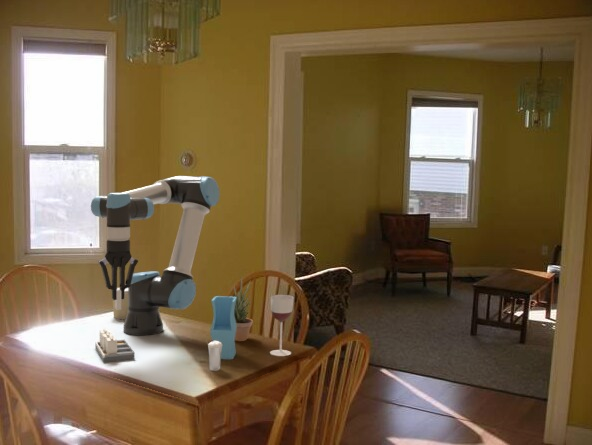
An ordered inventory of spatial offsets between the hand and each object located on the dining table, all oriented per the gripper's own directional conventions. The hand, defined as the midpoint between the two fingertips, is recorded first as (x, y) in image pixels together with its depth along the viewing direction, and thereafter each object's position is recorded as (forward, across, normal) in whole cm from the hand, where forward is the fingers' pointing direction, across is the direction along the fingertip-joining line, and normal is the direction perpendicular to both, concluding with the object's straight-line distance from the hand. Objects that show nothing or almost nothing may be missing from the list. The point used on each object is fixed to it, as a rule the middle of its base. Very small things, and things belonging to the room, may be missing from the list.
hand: (118, 308), depth 209 cm
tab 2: (+14, +3, -3) cm, 15 cm away
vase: (+17, -33, +13) cm, 39 cm away
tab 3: (+14, +3, +2) cm, 15 cm away
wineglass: (+17, -53, +18) cm, 58 cm away
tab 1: (+14, +2, -9) cm, 17 cm away
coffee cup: (+17, -14, -55) cm, 59 cm away
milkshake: (+17, -24, +26) cm, 39 cm away
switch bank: (+16, 0, -3) cm, 17 cm away
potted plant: (+17, -47, -4) cm, 50 cm away
